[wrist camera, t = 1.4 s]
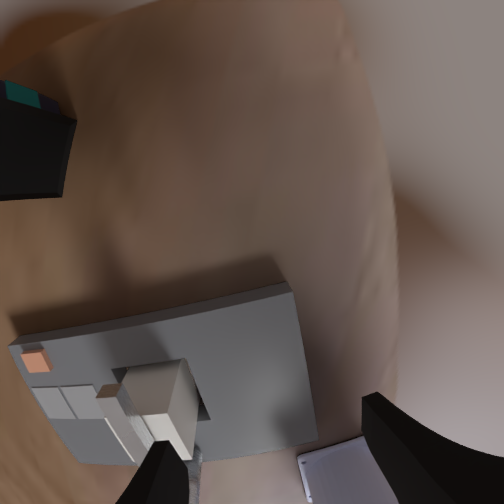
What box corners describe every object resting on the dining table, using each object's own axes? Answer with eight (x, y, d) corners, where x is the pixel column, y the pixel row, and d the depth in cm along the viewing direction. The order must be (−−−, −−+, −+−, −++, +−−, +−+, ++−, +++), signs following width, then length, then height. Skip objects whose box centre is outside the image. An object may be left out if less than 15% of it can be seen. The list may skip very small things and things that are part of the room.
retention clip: (205, 460, 20) (202, 516, 14) (182, 462, 20) (174, 517, 14) (149, 340, 18) (122, 396, 12) (121, 345, 17) (88, 398, 12)
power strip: (313, 424, 22) (320, 444, 20) (85, 449, 22) (77, 466, 20) (287, 281, 20) (294, 294, 17) (19, 335, 19) (3, 349, 17)
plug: (199, 396, 21) (192, 459, 15) (151, 403, 21) (133, 461, 15) (182, 353, 20) (167, 413, 14) (132, 361, 20) (103, 417, 14)
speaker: (100, 121, 17) (-20, 83, 6) (61, 199, 18) (-62, 215, 8) (37, 86, 16) (-62, 53, 6) (6, 153, 17) (-97, 150, 7)
